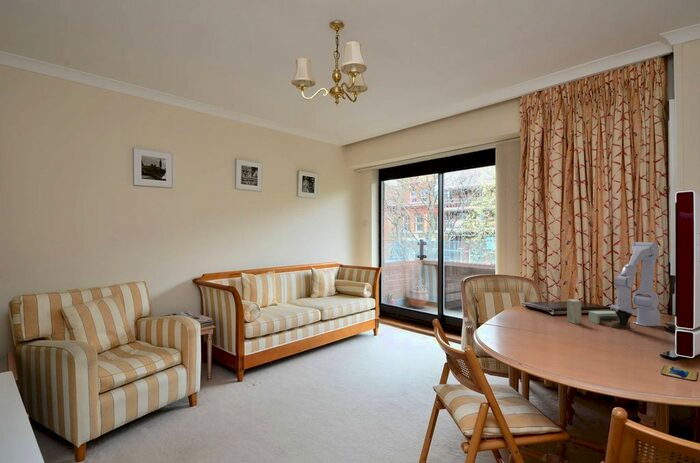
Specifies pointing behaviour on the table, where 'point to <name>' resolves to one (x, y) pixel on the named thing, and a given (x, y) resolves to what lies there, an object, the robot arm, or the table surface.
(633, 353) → the table surface
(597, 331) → the table surface
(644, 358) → the table surface
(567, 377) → the table surface
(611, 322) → the board
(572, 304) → the skincare box
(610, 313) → the shelf
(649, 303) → the robot arm
